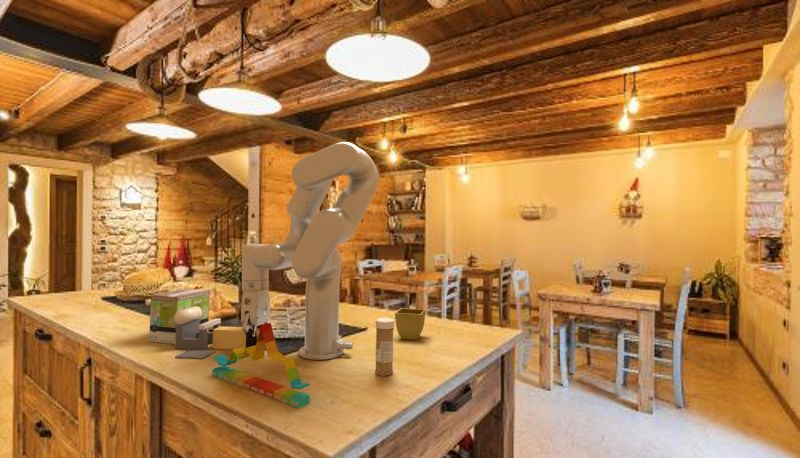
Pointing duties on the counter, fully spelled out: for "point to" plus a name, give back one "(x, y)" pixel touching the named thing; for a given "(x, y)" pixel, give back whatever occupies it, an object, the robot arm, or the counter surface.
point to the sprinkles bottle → (384, 346)
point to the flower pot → (410, 322)
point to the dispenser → (193, 329)
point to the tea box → (174, 312)
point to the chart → (260, 384)
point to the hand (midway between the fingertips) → (255, 346)
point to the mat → (195, 354)
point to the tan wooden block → (230, 337)
